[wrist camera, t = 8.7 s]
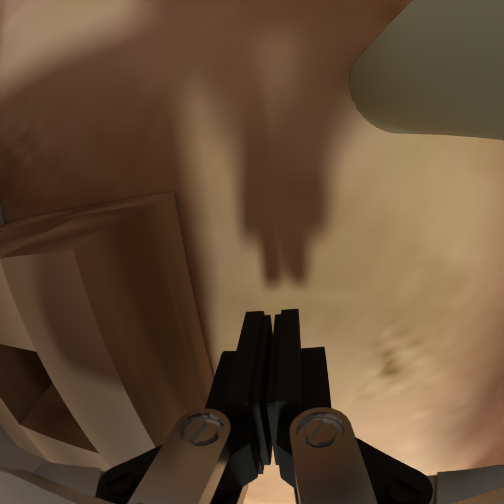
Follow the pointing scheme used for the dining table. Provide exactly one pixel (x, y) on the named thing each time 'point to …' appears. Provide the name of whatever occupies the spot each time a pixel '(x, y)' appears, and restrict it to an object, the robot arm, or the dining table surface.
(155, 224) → the block
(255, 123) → the dining table surface
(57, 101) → the dining table surface
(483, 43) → the dowel
